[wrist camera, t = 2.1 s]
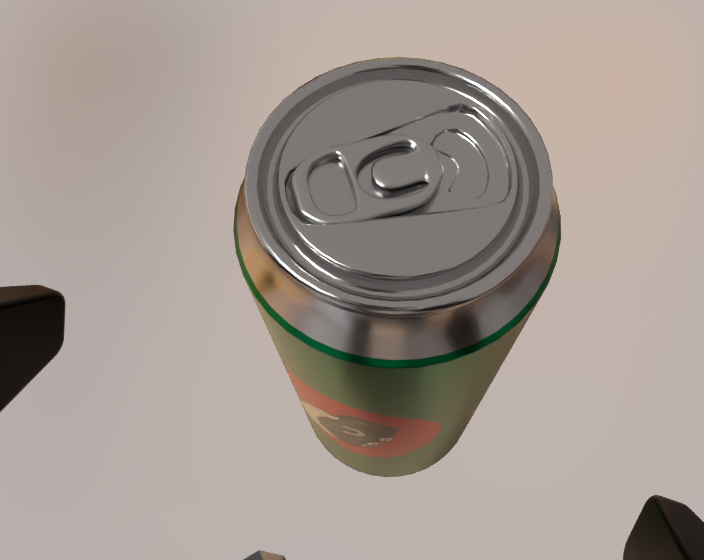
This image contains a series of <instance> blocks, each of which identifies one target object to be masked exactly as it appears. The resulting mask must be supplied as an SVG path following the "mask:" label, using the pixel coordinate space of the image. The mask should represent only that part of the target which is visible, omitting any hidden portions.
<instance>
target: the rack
mask: <svg viewBox="0 0 704 560" xmlns="http://www.w3.org/2000/svg"><path fill="white" fill-rule="evenodd" d="M244 560H286V559H285V557H284V556H282V555H278V554H273V553H269V552H264V551H260V550H259V551H257V552H256V553H254V554H252V555H250V556H249V557H247V558H245V559H244Z"/></svg>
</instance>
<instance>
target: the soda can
mask: <svg viewBox="0 0 704 560" xmlns="http://www.w3.org/2000/svg"><path fill="white" fill-rule="evenodd" d="M560 218H561V215H560V211H559V206H558V202H557V196H556V192H555V190H554V187H553V177H552V170H551V165H550V160H549V156H548V153H547V150H546V147H545V145H544V143H543V140H542V137H541V135H540V134H539V132H538V130H537V129H536V127H535V126H534V124H533V122H532V121H531V119H530V118H529V117H528V116H527V114H526V113H525V112H524V111H523V110H522V109H521V107H520V106H519V105H518V104H517V103H516V102H515V101H514V100H513V99H511V98H510V97H509V96H508V95H507V94H505V93H504V92H503V91H502V90H500V89H499V88H498V87H496V86H494V85H493V84H491V83H490V82H488V81H486V80H485V79H483V78H481V77H479V76H477V75H475V74H473V73H470V72H468V71H466V70H464V69H461V68H458V67H455V66H451V65H448V64H445V63H441V62H436V61H431V60H426V59H418V58H403V57H402V58H401V57H396V58H377V59H372V60H366V61H360V62H355V63H352V64H348V65H345V66H342V67H338V68H335V69H333V70H331V71H329V72H326V73H324V74H322V75H319V76H317V77H315V78H314V79H312V80H310V81H309V82H307V83H305V84H304V85H302V86H300V87H299V88H298V89H297V90H295V91H294V92H293V93H292V94H291V95H289V96H288V97H287V98H285V99H284V100H283V101H282V102H281V103H280V104H279V105H278V107H277V108H276V109H275V110H274V111H273V112H272V113H271V114H270V115H269V117H268V118H267V120H266V121H265V123H264V124H263V126H262V127H261V129H260V130H259V132H258V134H257V137H256V139H255V141H254V143H253V145H252V148H251V150H250V154H249V158H248V162H247V166H246V172H245V177H244V180H243V182H242V184H241V186H240V190H239V194H238V198H237V202H236V206H235V215H234V239H235V247H236V254H237V257H238V260H239V263H240V266H241V269H242V273H243V276H244V278H245V280H246V282H247V285H248V287H249V289H250V291H251V293H252V296H253V298H254V300H255V302H256V304H257V307H258V309H259V311H260V313H261V315H262V318H263V320H264V322H265V324H266V326H267V329H268V331H269V333H270V335H271V337H272V339H273V342H274V344H275V346H276V349H277V351H278V353H279V355H280V357H281V359H282V362H283V364H284V366H285V368H286V371H287V373H288V375H289V377H290V379H291V381H292V384H293V386H294V388H295V391H296V393H297V395H298V397H299V399H300V401H301V404H302V406H303V408H304V410H305V413H306V415H307V417H308V419H309V421H310V424H311V426H312V428H313V430H314V432H315V433H316V435H317V437H318V439H319V440H320V441H321V443H322V444H323V445H324V447H325V448H326V449H327V450H328V451H329V452H330V453H331V454H332V455H333V456H334V457H335V458H337V459H338V460H339V461H341V462H342V463H344V464H345V465H347V466H349V467H351V468H353V469H355V470H357V471H360V472H364V473H366V474H370V475H375V476H382V477H394V476H395V477H397V476H404V475H408V474H413V473H416V472H418V471H421V470H424V469H426V468H428V467H429V466H431V465H433V464H434V463H436V462H438V461H439V460H440V459H441V458H443V457H444V456H445V455H446V454H447V453H448V452H449V451H450V450H451V449H452V448H453V446H454V445H455V444H456V443H457V441H458V439H459V438H460V436H461V435H462V433H463V431H464V430H465V428H466V426H467V424H468V423H469V421H470V419H471V417H472V416H473V414H474V412H475V410H476V409H477V407H478V405H479V403H480V401H481V400H482V398H483V396H484V395H485V393H486V391H487V389H488V388H489V386H490V384H491V383H492V381H493V379H494V377H495V376H496V374H497V372H498V370H499V369H500V367H501V365H502V363H503V361H504V360H505V358H506V356H507V355H508V353H509V351H510V349H511V348H512V346H513V344H514V342H515V341H516V339H517V337H518V336H519V334H520V332H521V330H522V329H523V327H524V325H525V323H526V322H527V320H528V318H529V316H530V315H531V313H532V311H533V309H534V308H535V306H536V304H537V302H538V301H539V299H540V297H541V296H542V294H543V292H544V290H545V289H546V287H547V285H548V283H549V280H550V278H551V275H552V273H553V270H554V267H555V265H556V262H557V257H558V252H559V246H560V240H561V219H560Z"/></svg>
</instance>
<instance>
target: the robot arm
mask: <svg viewBox="0 0 704 560" xmlns="http://www.w3.org/2000/svg"><path fill="white" fill-rule="evenodd" d="M64 324H65V299H64V296H63V295H62V294H61V293H60V292H58V291H55V290H53V289H50V288H47V287H44V286H41V285H26V286H9V287H0V412H1V411H2V410H3V409H4V408H5V407H6V406H7V405H8V404H9V403H10V402H11V401H12V400H13V398H15V397H16V396H17V395H18V394H19V392H20V391H21V390H22V389H23V388H24V387H25V386H26V385H27V384H28V383H29V382H30V381H31V380H32V379H33V378H34V377H35V376H36V375H37V374H38V373H39V372H40V371H41V370H42V369H43V368H44V367H45V366H46V365H47V364H48V363H49V362H50V361H51V360H52V359H53V358H54V357H55V356H56V355H57V353H58V352H59V350H60V349H61V347H62V344H63V341H64ZM623 560H704V522H703V521H702V520H701V519H700V518H699V517H698V516H697V515H696V514H695V513H694V512H693V511H692V510H691V509H690V508H688V507H687V506H686V505H684V504H682V503H680V502H677V501H674V500H671V499H668V498H665V497H662V496H658V495H654V496H651V497H650V498H649V499H648V500H647V501H646V503H645V505H644V507H643V509H642V511H641V513H640V515H639V517H638V519H637V521H636V523H635V525H634V528H633V530H632V531H631V533H630V536H629V538H628V540H627V542H626V545H625V549H624V555H623Z"/></svg>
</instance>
